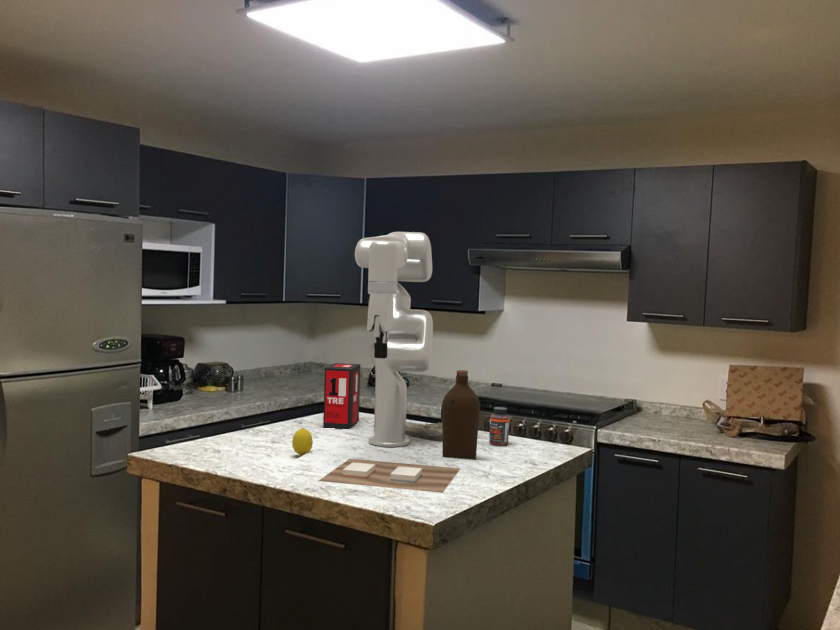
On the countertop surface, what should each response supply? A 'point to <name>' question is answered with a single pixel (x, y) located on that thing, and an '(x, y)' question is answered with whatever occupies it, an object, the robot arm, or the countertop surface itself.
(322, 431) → the countertop surface
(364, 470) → the tile
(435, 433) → the long grey stone
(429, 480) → the board
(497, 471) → the countertop surface
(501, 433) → the supplement bottle
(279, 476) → the countertop surface
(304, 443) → the lemon
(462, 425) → the olive oil
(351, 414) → the cleaning product box
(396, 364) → the robot arm
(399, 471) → the tile
